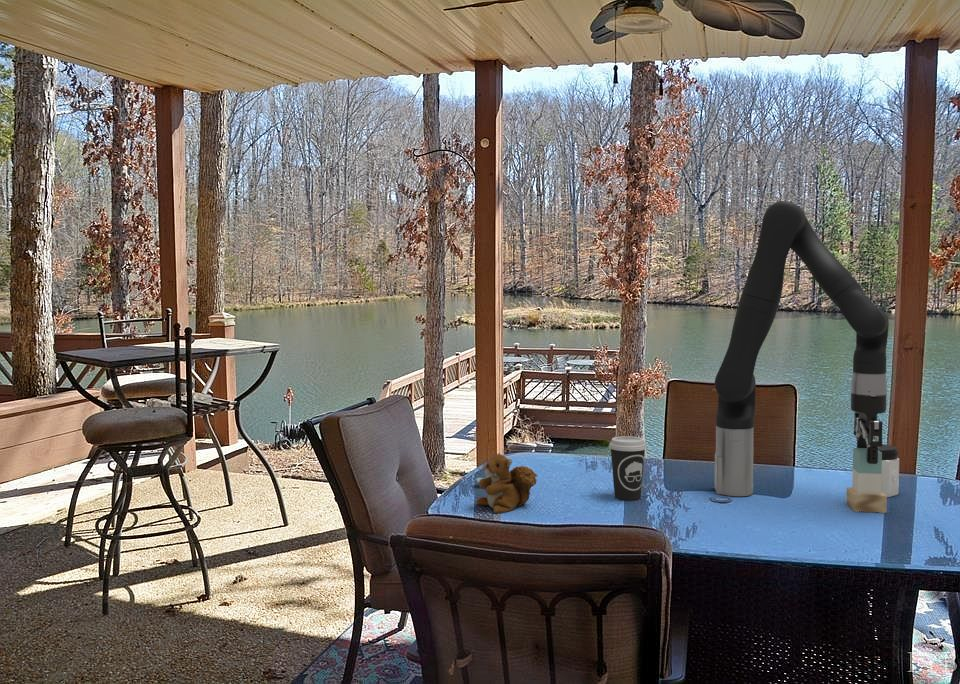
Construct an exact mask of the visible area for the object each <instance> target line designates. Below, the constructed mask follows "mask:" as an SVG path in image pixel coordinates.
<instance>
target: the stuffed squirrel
mask: <svg viewBox="0 0 960 684" xmlns="http://www.w3.org/2000/svg"><path fill="white" fill-rule="evenodd" d="M512 464H513V459H511V458H508V457H506V456H505V455H502V454H501V453H500V452H499V453H497V454H495V455H493V456H492V457H491V458H490V459H489V460H488V461H487V462H486V464H485V465H484V466H483V468H482V470H483V473H484V471H485V469H486V471H487V472H488V473H489V474H490V475H492V476H491V477H489V478H486V477H485V479H481V480H480V481H479V484H478V486H479V488H480V489H482V490H484V489H485V492H486V494H487V496H486V497H485V496H480V497H478V498H477V499H476V500H475V502H476V504H477V506H484V507H485V506H486V507H491V508H493V512H494V514H497V515H498V514H505V513H510V512H512V511H513V510H514V509H515V508H517V507H521V506H523V505H524V504H526V503H527V502H528V501H529V499H530V495H531V489H532V487H534V486H535V485H536V484H537V481H538V479H537V478H536V477H538V476H539V475H538V474H537V473H536V472H534V470H533V469H532V468H530V467H528V466H523V465H520V466H515V467H513V468H512V469H511V470H510V467H511V465H512ZM485 466H486V467H485ZM484 468H485V469H484ZM484 474H485V473H484Z"/></svg>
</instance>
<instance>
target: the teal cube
mask: <svg viewBox="0 0 960 684" xmlns="http://www.w3.org/2000/svg"><path fill="white" fill-rule="evenodd" d="M853 469H854V470H855V471H857V472H858V473H870V474H882V452H880V451H879V450H878V463H877V464H869V463H867V448H857V447H853V448H852V470H853Z"/></svg>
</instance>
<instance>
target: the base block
mask: <svg viewBox="0 0 960 684" xmlns="http://www.w3.org/2000/svg"><path fill="white" fill-rule="evenodd" d="M845 498H846V505H847V506H848V507H849V508H850V509H851V510H852V511H853V512H855V513H875V512H879V513H881V514H887V513H888V512H887V511H888V510H887V509H888V508H887V507H888V505H887V504H888V502H887V501H888V497H887V496H886V495H885V494H884V493H883V492H881V495H872V494H858V493H857V492H855V491H854V490H853V489H852V486H851V487H849V486H848V487H847V486H846V497H845ZM859 511H860V512H859ZM861 511H862V512H861ZM863 511H864V512H863ZM879 513H878V514H879Z"/></svg>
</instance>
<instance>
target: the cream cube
mask: <svg viewBox="0 0 960 684" xmlns="http://www.w3.org/2000/svg"><path fill="white" fill-rule="evenodd" d="M881 478H882V474H870V473H858V472H857V471H855V470H854V469H853V468H852V485H851V488H852V489H853V490H854V491H855V492H857V493H858V494H872V495H881Z"/></svg>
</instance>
